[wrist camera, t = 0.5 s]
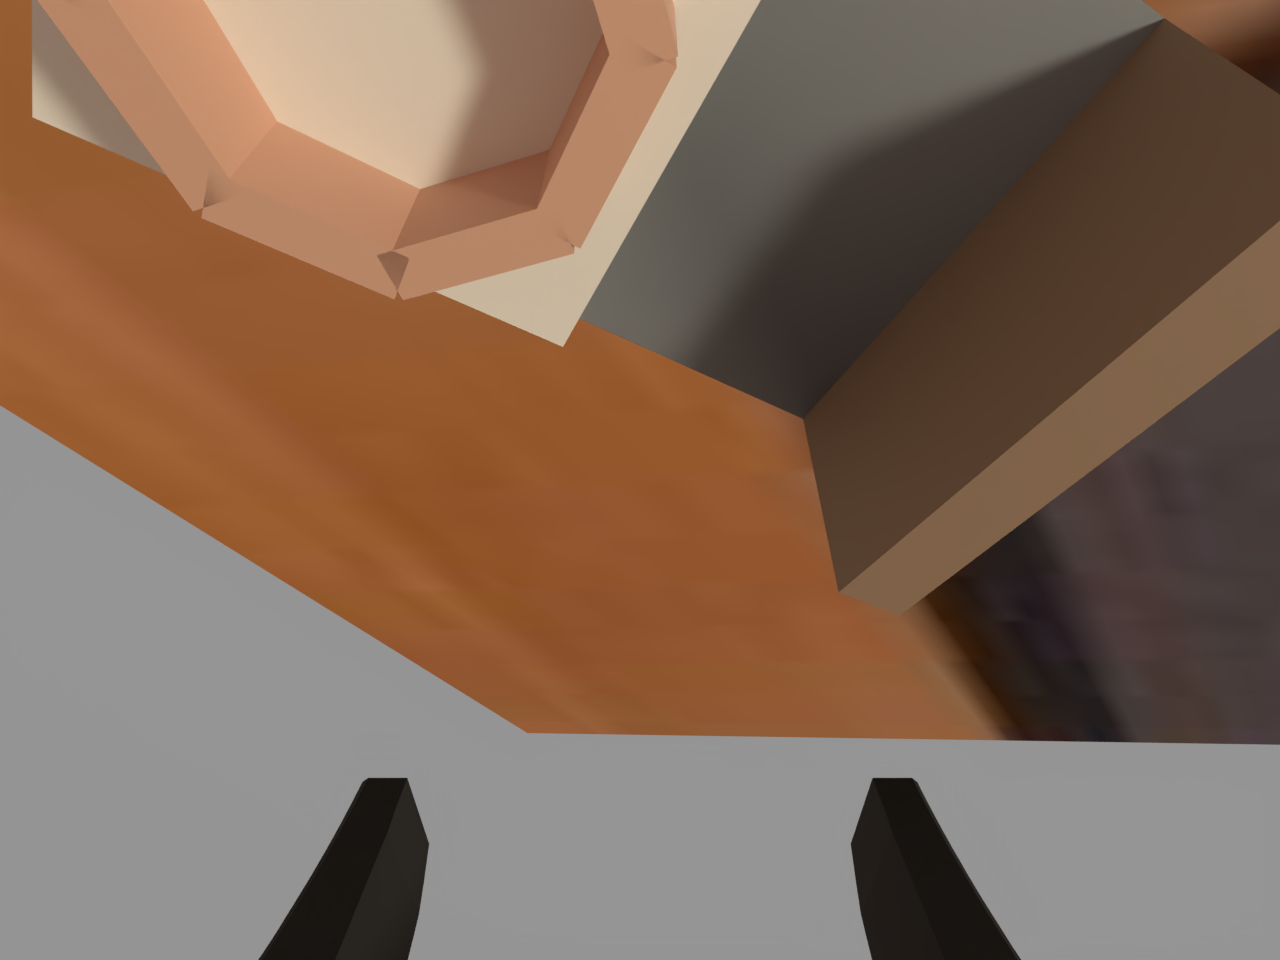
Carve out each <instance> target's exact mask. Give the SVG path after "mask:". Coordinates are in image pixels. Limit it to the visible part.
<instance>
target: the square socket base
mask: <svg viewBox="0 0 1280 960" xmlns="http://www.w3.org/2000/svg"><path fill="white" fill-rule="evenodd" d="M760 1H761V0H32V117H33V118H35V119H37V120H40V121H42V122H44V123H47V124H49V125H51V126H54V127H56V128H58V129H61V130H63V131H65V132H67V133H70V134H72V135H74V136H77V137H79V138H81V139H84V140H86V141H88V142H91V143H93V144H95V145H98V146H100V147H102V148H104V149H107V150H109V151H111V152H114V153H116V154H118V155H121V156H123V157H125V158H128V159H130V160H132V161H134V162H137V163H139V164H141V165H144V166H146V167H148V168H151V169H153V170H155V171H158V172H160V173H162V174H165V175H166V176H167V177H168V178H169V180H170V181H171V182H172V184H173V185H174V186H175V188H176V189H177V190H178V192H179V193H180V195H181V196H182V197H183V199H184V200H185V201H186V203H187V204H188V205H189V207H190V208H191V209H192V211H195V210H199V209H202V208H203V211H202V217H201V218H202V219H205V220H207V221H210V222H212V223H214V224H217V225H219V226H221V227H224V228H226V229H229V230H231V231H233V232H236V233H238V234H240V235H243V236H245V237H248V238H250V239H252V240H255V241H257V242H259V243H262V244H264V245H266V246H269V247H271V248H274V249H276V250H278V251H281V252H283V253H285V254H288V255H290V256H293V257H295V258H297V259H300V260H302V261H304V262H307V263H309V264H311V265H314V266H316V267H319V268H321V269H323V270H326V271H328V272H330V273H333V274H335V275H338V276H340V277H342V278H345V279H347V280H349V281H352V282H354V283H356V284H359V285H361V286H364V287H366V288H368V289H371V290H373V291H375V292H378V293H380V294H383V295H385V296H387V297H390V298H392V299H395V297H396V295H397V292H398V293H399V294H400V296H401V298H402V299H403V300H406V299H410V298H413V297H417V296H421V295H424V294H428V293H431V292H437V293H439V294H442V295H444V296H446V297H449V298H451V299H453V300H456V301H458V302H460V303H463V304H465V305H467V306H470V307H472V308H474V309H476V310H479V311H481V312H483V313H486V314H488V315H490V316H493V317H495V318H497V319H500V320H502V321H504V322H506V323H509V324H511V325H513V326H516V327H518V328H520V329H523V330H525V331H527V332H530V333H532V334H534V335H537V336H539V337H541V338H543V339H546V340H548V341H550V342H553V343H555V344H557V345H560V346H562V347H563V346H564V344H565V342H566V341H567V339H568V337H569V335H570V334H571V332H572V330H573V328H574V327H575V325H576V323H577V321H578V320H579V318H580V316H581V314H582V313H583V311H584V309H585V307H586V306H587V304H588V302H589V300H590V299H591V297H592V295H593V293H594V292H595V290H596V288H597V286H598V285H599V283H600V281H601V279H602V278H603V276H604V274H605V272H606V271H607V269H608V267H609V265H610V264H611V262H612V260H613V258H614V257H615V255H616V253H617V251H618V250H619V248H620V246H621V244H622V243H623V241H624V239H625V237H626V236H627V234H628V232H629V230H630V229H631V227H632V225H633V223H634V222H635V220H636V218H637V216H638V214H639V213H640V211H641V209H642V207H643V206H644V204H645V202H646V200H647V199H648V197H649V195H650V193H651V192H652V190H653V188H654V186H655V185H656V183H657V181H658V179H659V178H660V176H661V174H662V172H663V171H664V169H665V167H666V165H667V164H668V162H669V160H670V158H671V157H672V155H673V153H674V151H675V150H676V148H677V146H678V144H679V143H680V141H681V139H682V137H683V136H684V134H685V132H686V130H687V129H688V127H689V125H690V123H691V122H692V120H693V118H694V116H695V115H696V113H697V111H698V109H699V108H700V106H701V104H702V102H703V101H704V99H705V97H706V95H707V94H708V92H709V90H710V88H711V87H712V85H713V83H714V81H715V80H716V78H717V76H718V74H719V73H720V71H721V69H722V67H723V66H724V64H725V62H726V60H727V58H728V57H729V55H730V53H731V51H732V50H733V48H734V46H735V44H736V43H737V41H738V39H739V37H740V36H741V34H742V32H743V30H744V29H745V27H746V25H747V23H748V22H749V20H750V18H751V16H752V15H753V13H754V11H755V9H756V8H757V6H758V4H759V2H760Z"/></svg>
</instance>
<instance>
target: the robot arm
mask: <svg viewBox="0 0 1280 960" xmlns="http://www.w3.org/2000/svg"><path fill="white" fill-rule="evenodd" d="M428 849H429V842H428V839H427V836H426V833H425V830H424V827H423V824H422V821H421V818H420V815H419V812H418V809H417V806H416V803H415V800H414V796H413V793H412V790H411V787H410V784H409V781H408V778H367V779H366V780H364V781H363V782H362V784H361V786H360V788H359V790H358V791H357V793H356V795H355V797H354V799H353V801H352V803H351V805H350V807H349V809H348V811H347V813H346V815H345V816H344V818H343V820H342V822H341V824H340V826H339V828H338V829H337V831H336V833H335V835H334V837H333V838H332V840H331V842H330V844H329V845H328V847H327V849H326V851H325V853H324V854H323V856H322V858H321V860H320V861H319V863H318V865H317V866H316V868H315V870H314V871H313V873H312V875H311V877H310V878H309V880H308V882H307V883H306V885H305V887H304V888H303V890H302V891H301V893H300V895H299V896H298V898H297V900H296V901H295V903H294V905H293V906H292V908H291V909H290V911H289V913H288V914H287V916H286V917H285V919H284V921H283V922H282V924H281V926H280V927H279V929H278V930H277V932H276V934H275V935H274V937H273V938H272V940H271V941H270V943H269V944H268V946H267V947H266V949H265V950H264V952H263V953H262V955H261V956H260V958H259V959H258V960H408V957H409V953H410V949H411V945H412V941H413V937H414V933H415V928H416V925H417V920H418V916H419V911H420V905H421V898H422V892H423V885H424V878H425V871H426V864H427V856H428ZM851 850H852V857H853V864H854V872H855V879H856V886H857V892H858V899H859V905H860V912H861V917H862V921H863V925H864V929H865V934H866V938H867V942H868V946H869V950H870V954H871V958H872V960H1021V959H1020V957H1019V956H1018V954H1017V953H1016V951H1015V950H1014V948H1013V947H1012V945H1011V943H1010V942H1009V940H1008V939H1007V937H1006V935H1005V934H1004V932H1003V931H1002V929H1001V928H1000V926H999V924H998V923H997V921H996V920H995V918H994V916H993V915H992V913H991V912H990V910H989V908H988V907H987V905H986V904H985V902H984V901H983V899H982V897H981V896H980V894H979V892H978V891H977V889H976V887H975V886H974V884H973V882H972V881H971V879H970V877H969V876H968V874H967V872H966V870H965V869H964V867H963V865H962V864H961V862H960V860H959V858H958V857H957V855H956V853H955V851H954V850H953V848H952V846H951V844H950V843H949V841H948V839H947V837H946V835H945V834H944V832H943V830H942V828H941V826H940V824H939V823H938V821H937V819H936V817H935V815H934V813H933V811H932V810H931V808H930V806H929V804H928V802H927V800H926V798H925V796H924V794H923V792H922V790H921V788H920V786H919V784H918V782H917V781H915V780H914V779H913V778H872V781H871V784H870V787H869V790H868V793H867V796H866V799H865V802H864V805H863V808H862V811H861V814H860V817H859V820H858V823H857V826H856V829H855V832H854V835H853V838H852V841H851Z"/></svg>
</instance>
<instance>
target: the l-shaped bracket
mask: <svg viewBox="0 0 1280 960" xmlns="http://www.w3.org/2000/svg"><path fill="white" fill-rule="evenodd" d="M579 319H582V320H584V321H586V322H588V323H590V324H593V325H595V326H597V327H599V328H602V329H604V330H606V331H608V332H611V333H613V334H615V335H617V336H619V337H622V338H624V339H626V340H628V341H631V342H633V343H635V344H637V345H639V346H642V347H644V348H646V349H648V350H651V351H653V352H655V353H657V354H660V355H662V356H664V357H666V358H668V359H671V360H673V361H675V362H677V363H680V364H682V365H684V366H686V367H688V368H691V369H693V370H695V371H697V372H700V373H702V374H704V375H706V376H709V377H711V378H713V379H715V380H717V381H720V382H722V383H724V384H726V385H729V386H731V387H733V388H735V389H737V390H740V391H742V392H744V393H746V394H749V395H751V396H753V397H755V398H758V399H760V400H762V401H764V402H766V403H769V404H771V405H773V406H775V407H778V408H780V409H782V410H784V411H786V412H789V413H791V414H793V415H795V416H798V417H800V418H802V419H803V421H804V426H805V431H806V436H807V441H808V446H809V451H810V455H811V460H812V465H813V470H814V475H815V480H816V485H817V490H818V494H819V499H820V504H821V509H822V514H823V519H824V524H825V529H826V534H827V538H828V543H829V548H830V553H831V558H832V563H833V568H834V573H835V578H836V582H837V587H838V592H839V593H841V594H844V595H847V596H849V597H852V598H855V599H858V600H860V601H863V602H866V603H868V604H871V605H874V606H877V607H879V608H882V609H885V610H887V611H890V612H893V613H896V614H898V615H901V614H902V613H904V612H905V611H906V610H908V609H909V608H910V607H912V606H913V605H914V604H916V603H917V602H918V601H920V600H921V599H922V598H924V597H925V596H926V595H928V594H929V593H930V592H931V591H933V590H934V589H935V588H937V587H938V586H939V585H941V584H942V583H943V582H945V581H946V580H947V579H949V578H950V577H951V576H953V575H954V574H955V573H957V572H958V571H959V570H961V569H962V568H963V567H965V566H966V565H967V564H969V563H970V562H971V561H972V560H974V559H975V558H976V557H978V556H979V555H980V554H982V553H983V552H984V551H986V550H987V549H988V548H990V547H991V546H992V545H994V544H995V543H996V542H998V541H999V540H1000V539H1002V538H1003V537H1004V536H1006V535H1007V534H1008V533H1010V532H1011V531H1012V530H1013V529H1015V528H1016V527H1017V526H1019V525H1020V524H1021V523H1023V522H1024V521H1025V520H1027V519H1028V518H1029V517H1031V516H1032V515H1033V514H1035V513H1036V512H1037V511H1039V510H1040V509H1041V508H1043V507H1044V506H1045V505H1047V504H1048V503H1049V502H1051V501H1052V500H1053V499H1054V498H1056V497H1057V496H1058V495H1060V494H1061V493H1062V492H1064V491H1065V490H1066V489H1068V488H1069V487H1070V486H1072V485H1073V484H1074V483H1076V482H1077V481H1078V480H1080V479H1081V478H1082V477H1084V476H1085V475H1086V474H1088V473H1089V472H1090V471H1092V470H1093V469H1094V468H1095V467H1097V466H1098V465H1099V464H1101V463H1102V462H1103V461H1105V460H1106V459H1107V458H1109V457H1110V456H1111V455H1113V454H1114V453H1115V452H1117V451H1118V450H1119V449H1121V448H1122V447H1123V446H1125V445H1126V444H1127V443H1129V442H1130V441H1131V440H1133V439H1134V438H1135V437H1136V436H1138V435H1139V434H1140V433H1142V432H1143V431H1144V430H1146V429H1147V428H1148V427H1150V426H1151V425H1152V424H1154V423H1155V422H1156V421H1158V420H1159V419H1160V418H1162V417H1163V416H1164V415H1166V414H1167V413H1168V412H1170V411H1171V410H1172V409H1174V408H1175V407H1176V406H1177V405H1179V404H1180V403H1181V402H1183V401H1184V400H1185V399H1187V398H1188V397H1189V396H1191V395H1192V394H1193V393H1195V392H1196V391H1197V390H1199V389H1200V388H1201V387H1203V386H1204V385H1205V384H1207V383H1208V382H1209V381H1211V380H1212V379H1213V378H1215V377H1216V376H1217V375H1218V374H1220V373H1221V372H1222V371H1224V370H1225V369H1226V368H1228V367H1229V366H1230V365H1232V364H1233V363H1234V362H1236V361H1237V360H1238V359H1240V358H1241V357H1242V356H1244V355H1245V354H1246V353H1248V352H1249V351H1250V350H1252V349H1253V348H1254V347H1256V346H1257V345H1258V344H1259V343H1261V342H1262V341H1263V340H1265V339H1266V338H1267V337H1269V336H1270V335H1271V334H1273V333H1274V332H1275V331H1277V330H1278V329H1279V328H1280V94H1278V93H1277V92H1275V91H1274V90H1272V89H1271V88H1269V87H1268V86H1266V85H1265V84H1263V83H1262V82H1260V81H1259V80H1257V79H1256V78H1254V77H1253V76H1251V75H1250V74H1248V73H1247V72H1245V71H1243V70H1242V69H1240V68H1239V67H1237V66H1236V65H1234V64H1233V63H1231V62H1230V61H1228V60H1227V59H1225V58H1224V57H1222V56H1221V55H1219V54H1218V53H1216V52H1215V51H1213V50H1212V49H1210V48H1209V47H1207V46H1206V45H1204V44H1203V43H1201V42H1200V41H1198V40H1197V39H1195V38H1194V37H1192V36H1191V35H1189V34H1188V33H1186V32H1185V31H1183V30H1182V29H1180V28H1179V27H1177V26H1176V25H1174V24H1172V23H1171V22H1169V21H1168V20H1166V19H1165V18H1164V17H1162V16H1161V15H1160V14H1159V13H1157V12H1156V11H1155V10H1154V9H1152V8H1151V7H1150V6H1149V5H1147V4H1146V3H1145V2H1144V1H1142V0H761V1H760V2H759V4H758V6H757V8H756V9H755V11H754V13H753V15H752V16H751V18H750V20H749V22H748V23H747V25H746V27H745V29H744V30H743V32H742V34H741V36H740V37H739V39H738V41H737V43H736V44H735V46H734V48H733V50H732V51H731V53H730V55H729V57H728V58H727V60H726V62H725V64H724V66H723V67H722V69H721V71H720V73H719V74H718V76H717V78H716V80H715V81H714V83H713V85H712V87H711V88H710V90H709V92H708V94H707V95H706V97H705V99H704V101H703V102H702V104H701V106H700V108H699V109H698V111H697V113H696V115H695V116H694V118H693V120H692V122H691V123H690V125H689V127H688V129H687V130H686V132H685V134H684V136H683V137H682V139H681V141H680V143H679V144H678V146H677V148H676V150H675V151H674V153H673V155H672V157H671V158H670V160H669V162H668V164H667V165H666V167H665V169H664V171H663V172H662V174H661V176H660V178H659V179H658V181H657V183H656V185H655V186H654V188H653V190H652V192H651V193H650V195H649V197H648V199H647V200H646V202H645V204H644V206H643V207H642V209H641V211H640V213H639V214H638V216H637V218H636V220H635V222H634V223H633V225H632V227H631V229H630V230H629V232H628V234H627V236H626V237H625V239H624V241H623V243H622V244H621V246H620V248H619V250H618V251H617V253H616V255H615V257H614V258H613V260H612V262H611V264H610V265H609V267H608V269H607V271H606V272H605V274H604V276H603V278H602V279H601V281H600V283H599V285H598V286H597V288H596V290H595V292H594V293H593V295H592V297H591V299H590V300H589V302H588V304H587V306H586V307H585V309H584V311H583V313H582V314H581V316H580V318H579Z"/></svg>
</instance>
